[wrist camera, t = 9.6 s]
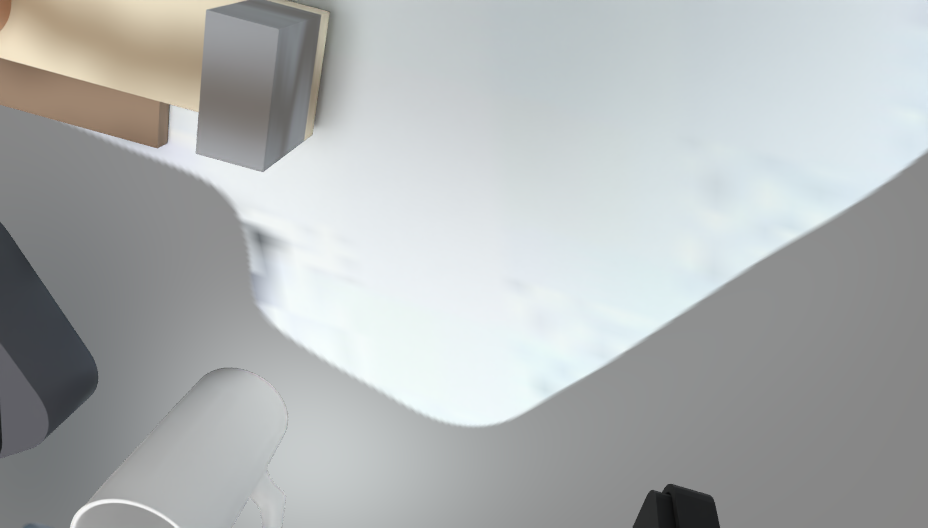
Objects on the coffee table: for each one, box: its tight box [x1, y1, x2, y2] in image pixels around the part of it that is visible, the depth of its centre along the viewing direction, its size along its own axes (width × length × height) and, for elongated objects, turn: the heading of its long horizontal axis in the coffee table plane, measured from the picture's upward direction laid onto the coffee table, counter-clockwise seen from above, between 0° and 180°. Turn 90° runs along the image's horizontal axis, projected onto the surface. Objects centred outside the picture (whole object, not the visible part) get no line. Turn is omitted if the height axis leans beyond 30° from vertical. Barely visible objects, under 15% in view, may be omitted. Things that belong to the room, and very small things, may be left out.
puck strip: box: [0, 0, 330, 172], centre depth 34 cm, size 6×22×6 cm, turn 77°
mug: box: [70, 368, 288, 528], centre depth 42 cm, size 10×7×12 cm, turn 39°
